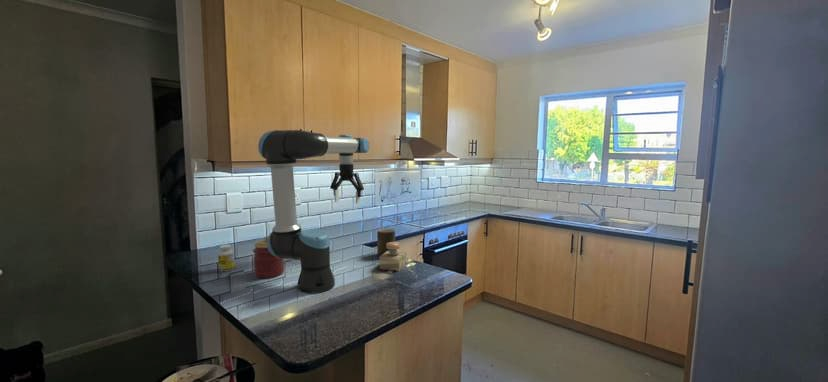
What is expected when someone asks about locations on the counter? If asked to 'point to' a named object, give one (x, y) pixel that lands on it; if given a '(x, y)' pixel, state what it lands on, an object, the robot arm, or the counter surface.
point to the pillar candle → (384, 239)
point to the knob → (393, 248)
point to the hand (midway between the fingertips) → (347, 202)
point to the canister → (266, 261)
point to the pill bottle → (226, 258)
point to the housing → (392, 261)
